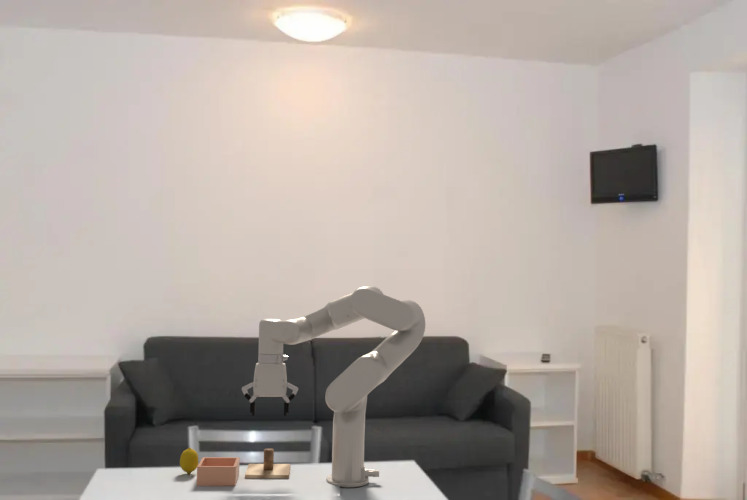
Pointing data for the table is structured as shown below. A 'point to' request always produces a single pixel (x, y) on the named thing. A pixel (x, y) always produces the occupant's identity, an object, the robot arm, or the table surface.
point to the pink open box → (218, 471)
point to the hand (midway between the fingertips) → (269, 415)
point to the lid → (268, 468)
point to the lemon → (189, 460)
